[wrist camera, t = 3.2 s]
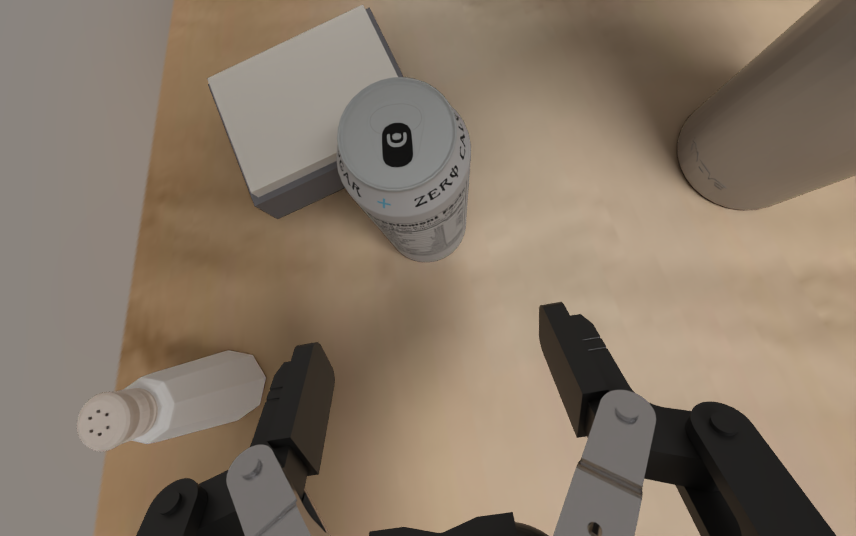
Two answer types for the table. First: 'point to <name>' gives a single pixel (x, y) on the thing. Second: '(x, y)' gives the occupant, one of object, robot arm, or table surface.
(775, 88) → the robot arm
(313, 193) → the podium
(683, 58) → the table surface
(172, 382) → the pepper shaker
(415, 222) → the energy drink can
